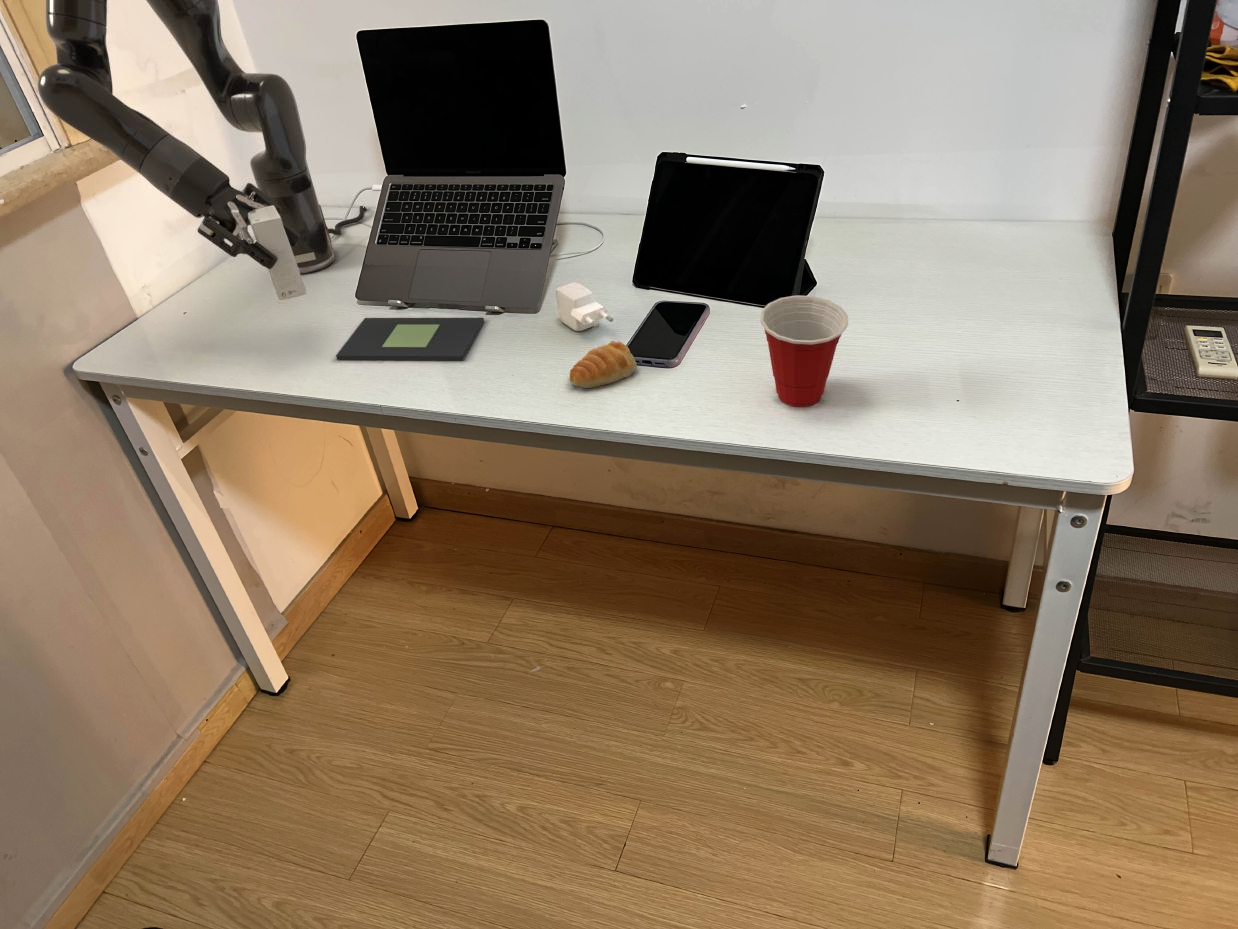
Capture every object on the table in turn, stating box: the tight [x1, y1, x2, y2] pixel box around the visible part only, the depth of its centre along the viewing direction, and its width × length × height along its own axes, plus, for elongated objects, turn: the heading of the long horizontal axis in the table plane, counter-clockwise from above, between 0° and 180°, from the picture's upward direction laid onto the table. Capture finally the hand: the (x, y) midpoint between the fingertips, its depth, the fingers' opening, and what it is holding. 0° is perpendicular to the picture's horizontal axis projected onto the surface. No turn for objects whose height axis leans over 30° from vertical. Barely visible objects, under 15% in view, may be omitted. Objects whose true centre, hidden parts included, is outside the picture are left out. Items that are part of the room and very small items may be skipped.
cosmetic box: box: [248, 205, 307, 301], centre depth 135 cm, size 6×4×12 cm
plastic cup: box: [759, 295, 849, 408], centre depth 117 cm, size 11×11×12 cm
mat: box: [335, 317, 485, 362], centre depth 142 cm, size 12×20×1 cm, turn 81°
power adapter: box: [555, 281, 614, 332], centre depth 139 cm, size 11×5×6 cm, turn 33°
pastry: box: [569, 340, 638, 389], centre depth 128 cm, size 9×7×4 cm
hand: (286, 252), depth 135 cm, fingers closed on cosmetic box, 7 cm apart
